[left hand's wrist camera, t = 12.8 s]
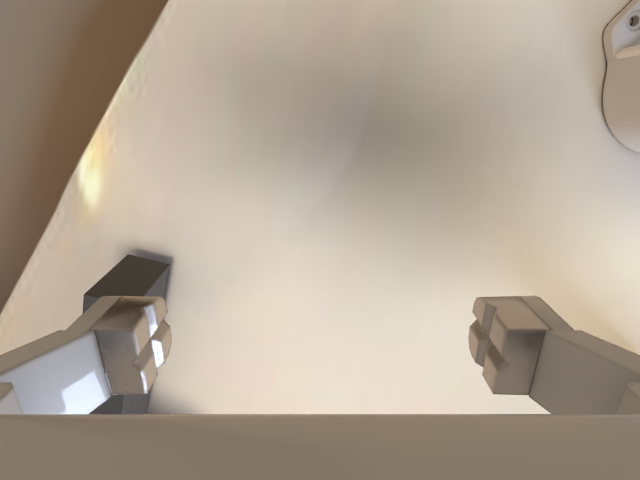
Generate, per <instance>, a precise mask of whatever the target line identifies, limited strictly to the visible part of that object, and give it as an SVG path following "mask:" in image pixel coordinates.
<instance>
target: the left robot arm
mask: <svg viewBox="0 0 640 480" xmlns="http://www.w3.org/2000/svg"><path fill="white" fill-rule="evenodd" d="M631 17H632V18H633V24H632V25H630V24H629V21H630V19H631ZM603 43H604V49H605V54H606V59H607V73H606V78H605V83H604V89H603V110H604V115H605V119H606V122H607V125H608V127H609V129H610V131H611V132H612V134H613V135H614V137H615V138H616V139H617V140H618V141H619V142H620V143H621V144H623V145H624V146H625V147H627V148H628V149H630V150H632V151H635V152H638V153H640V0H632V1H631V2H630V3H629V4H628V5H627V6H626V7H625V8H624V9H623V10H622V11H621V12H620V13H619V14H618V15H617V16H616V17H615V18H614V19H613V20H612V21H611V22H610V23H609V24H608V25H607V27H606V29H605V31H604V35H603ZM166 313H167V307H166V302H165V300H164V299H163V298H162V297H141V296H124V297H123V296H104V297H100V298H99V299H98V300H97V301H96V302H95V303H94V304H93V305H92V306H91V307H90V308H89V309H88V310H86V311H85V312H84V313H83V314H82V315H81V316H80V317H79V318H78V319H77V320H76V321H75V322H74V323H73V324H72V325H71V326H70V327H69V328H68V329H67V330H66V331H57V332H55V333H52V334H50V335H47V336H45V337H43V338H40V339H38V340H36V341H33V342H31V343H29V344H26V345H24V346H21V347H19V348H17V349H14V350H12V351H10V352H7V353H5V354H2V355H0V480H640V355H637V354H635V353H633V352H630V351H628V350H626V349H623V348H621V347H618V346H616V345H614V344H611V343H609V342H607V341H604V340H602V339H600V338H597V337H595V336H593V335H590V334H588V333H585V332H583V331H574V330H573V329H572V328H571V327H570V326H569V325H568V324H567V323H566V322H565V321H564V320H563V319H562V318H561V317H560V316H559V315H558V314H557V313H556V312H555V311H554V310H553V309H552V308H550V307H549V306H548V305H547V304H546V303H545V302H544V301H543V300H542V299H541V298H540V297H537V296H509V297H479V298H476V300H475V302H474V306H473V313H474V315H475V317H476V318H477V320H476V321H475V322H474V323H473V324H472V325H471V326H470V330H469V348H470V351H471V355H472V357H473V359H474V361H475V362H476V363H477V364H479V365H480V366H482V367H483V373H482V375H483V377H484V379H485V380H486V382H487V384H488V386H489V387H490V389H491V391H492V393H493V394H508V395H529V397H530V398H531V399H533V400H534V401H535V402H537V403H538V404H539V405H541V406H542V407H543V408H544V409H546V410H547V411H548V412H550V413H551V414H89V413H90V412H92V411H93V410H94V409H96V408H97V407H98V406H100V405H101V404H102V403H104V402H105V401H106V400H107V399H109V398H110V397H111V395H132V394H147V393H148V391H149V389H150V387H151V386H152V384H153V382H154V380H155V379H156V377H157V375H158V373H157V367H158V366H160V365H161V364H163V363H164V362H165V361H166V359H167V357H168V355H169V351H170V347H171V329H170V326H169V325H168V324H167V323H166V322H165V321H164V320H163V318H164V317H165V315H166Z"/></svg>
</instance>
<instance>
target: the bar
mask: <svg viewBox="0 0 640 480" xmlns="http://www.w3.org/2000/svg"><path fill="white" fill-rule="evenodd" d="M168 271H169V265H168V264H164V263H160V262H156V261H152V260H148V259H144V258H140V257H136V256H132V255H127V256H126V257H125V258H124V259H122V260H121V261H120V262H119V263H118V264H117V265H116V266H115V267H114V268H113V269H112V270H110V271H109V272H108V273H107V274H106V275H105V276H104V277H103V278H102V279H101V280H99V281H98V282H97V283H96V284H95V285H94V286H93V287H92V288H91V289H90V290H88V291H87V292H86V293H85V294H84V302H83V313H84V312H85V311H86V310H88V309H89V308H90V307H91V306H92V305H93V304H94V303H95V302H96V301H97V300H98V299H99V298H100V297H104V296H123V297H124V296H141V297H162V298H163V299H164V296H165V290H166V284H167V277H168ZM149 391H150V389H149ZM149 391H148V393H147V394H132V395H111V397H110V398H109V399H107V400H106V401H105V402H104V403H102V404H101V405H100V406H98V407H97V408H96V409H94V410H93V411H92V412H90V413H89V414H146V410H147V404H148V397H149Z"/></svg>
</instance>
